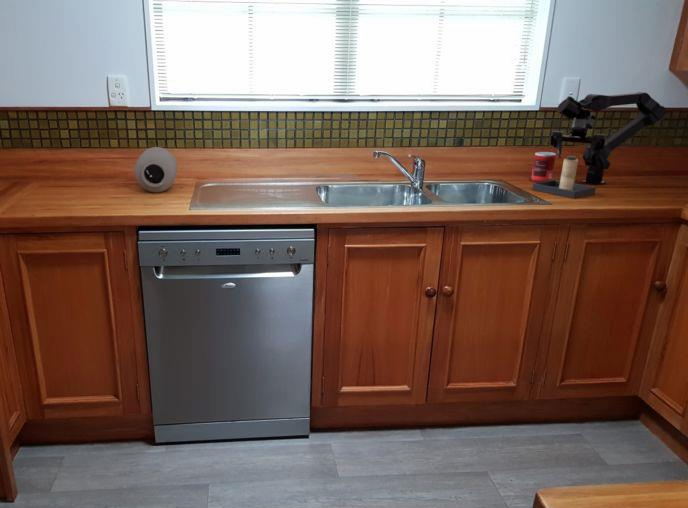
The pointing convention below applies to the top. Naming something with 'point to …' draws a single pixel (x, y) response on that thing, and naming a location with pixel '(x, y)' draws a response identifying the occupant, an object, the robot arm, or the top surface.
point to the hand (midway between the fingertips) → (573, 158)
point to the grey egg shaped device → (156, 169)
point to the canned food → (543, 166)
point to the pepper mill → (568, 173)
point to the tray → (554, 188)
